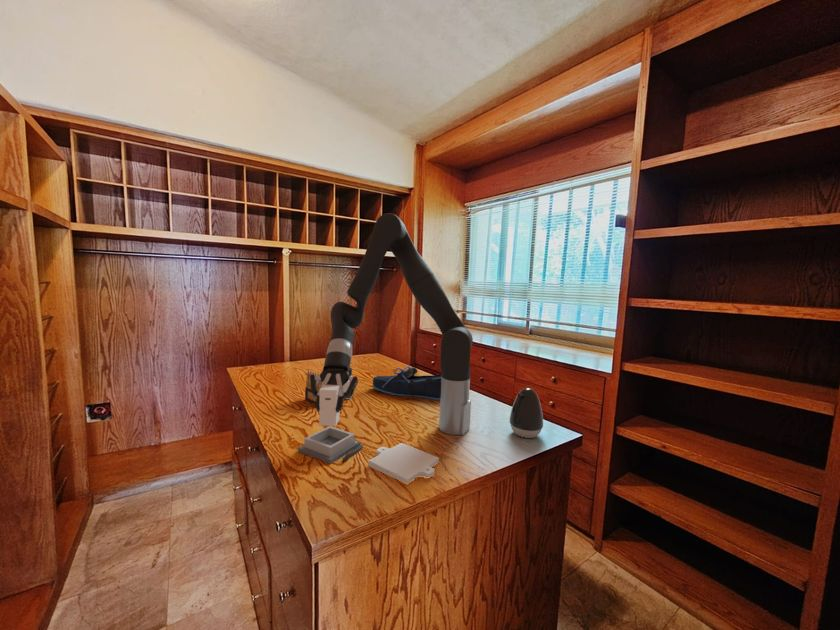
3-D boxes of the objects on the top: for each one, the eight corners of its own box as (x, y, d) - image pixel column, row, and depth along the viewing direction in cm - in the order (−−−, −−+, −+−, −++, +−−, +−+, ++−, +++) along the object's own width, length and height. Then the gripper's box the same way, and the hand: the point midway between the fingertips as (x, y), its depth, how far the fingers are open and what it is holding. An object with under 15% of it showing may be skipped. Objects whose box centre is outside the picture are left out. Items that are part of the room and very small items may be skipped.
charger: (339, 419, 98) (340, 385, 97) (335, 426, 93) (336, 390, 92) (323, 418, 98) (324, 384, 97) (319, 425, 93) (319, 389, 92)
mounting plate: (361, 464, 89) (361, 456, 89) (394, 446, 100) (395, 439, 99) (415, 491, 78) (416, 483, 78) (446, 468, 89) (447, 461, 89)
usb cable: (360, 446, 98) (361, 443, 98) (363, 447, 97) (363, 444, 97) (341, 461, 90) (341, 457, 89) (344, 462, 89) (344, 458, 89)
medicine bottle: (350, 399, 136) (351, 369, 134) (332, 398, 136) (332, 369, 134) (354, 393, 143) (354, 365, 141) (337, 392, 143) (337, 364, 142)
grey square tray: (360, 445, 98) (360, 433, 98) (330, 464, 88) (330, 450, 88) (329, 434, 104) (329, 423, 104) (297, 451, 94) (297, 439, 93)
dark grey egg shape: (501, 433, 110) (504, 386, 108) (520, 425, 116) (523, 381, 115) (530, 445, 102) (533, 395, 101) (548, 436, 109) (552, 389, 107)
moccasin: (378, 384, 156) (378, 359, 155) (454, 391, 151) (455, 365, 149) (368, 394, 142) (369, 366, 141) (451, 402, 137) (453, 373, 136)
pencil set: (304, 399, 134) (304, 369, 132) (309, 398, 135) (309, 368, 134) (319, 407, 126) (319, 375, 125) (324, 406, 128) (324, 374, 127)
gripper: (312, 349, 101) (298, 404, 90) (361, 351, 101) (352, 406, 90) (317, 362, 107) (304, 415, 96) (363, 364, 107) (355, 417, 96)
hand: (328, 410), depth 93 cm, fingers closed on charger, 4 cm apart
